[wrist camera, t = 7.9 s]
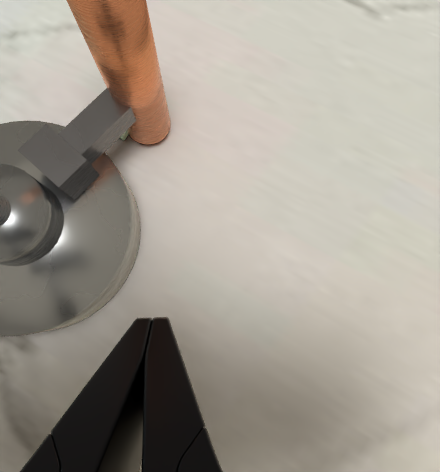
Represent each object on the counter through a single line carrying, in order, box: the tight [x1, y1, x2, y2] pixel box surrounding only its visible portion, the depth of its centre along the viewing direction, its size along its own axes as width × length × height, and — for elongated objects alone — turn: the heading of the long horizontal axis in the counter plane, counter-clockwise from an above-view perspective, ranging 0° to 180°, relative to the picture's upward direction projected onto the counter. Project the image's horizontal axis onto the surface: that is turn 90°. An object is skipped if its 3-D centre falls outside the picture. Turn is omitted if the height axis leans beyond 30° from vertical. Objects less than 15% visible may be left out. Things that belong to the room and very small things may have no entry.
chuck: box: [0, 121, 141, 336], centre depth 15 cm, size 10×10×7 cm
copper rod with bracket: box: [18, 0, 170, 200], centre depth 14 cm, size 7×2×10 cm, turn 139°
